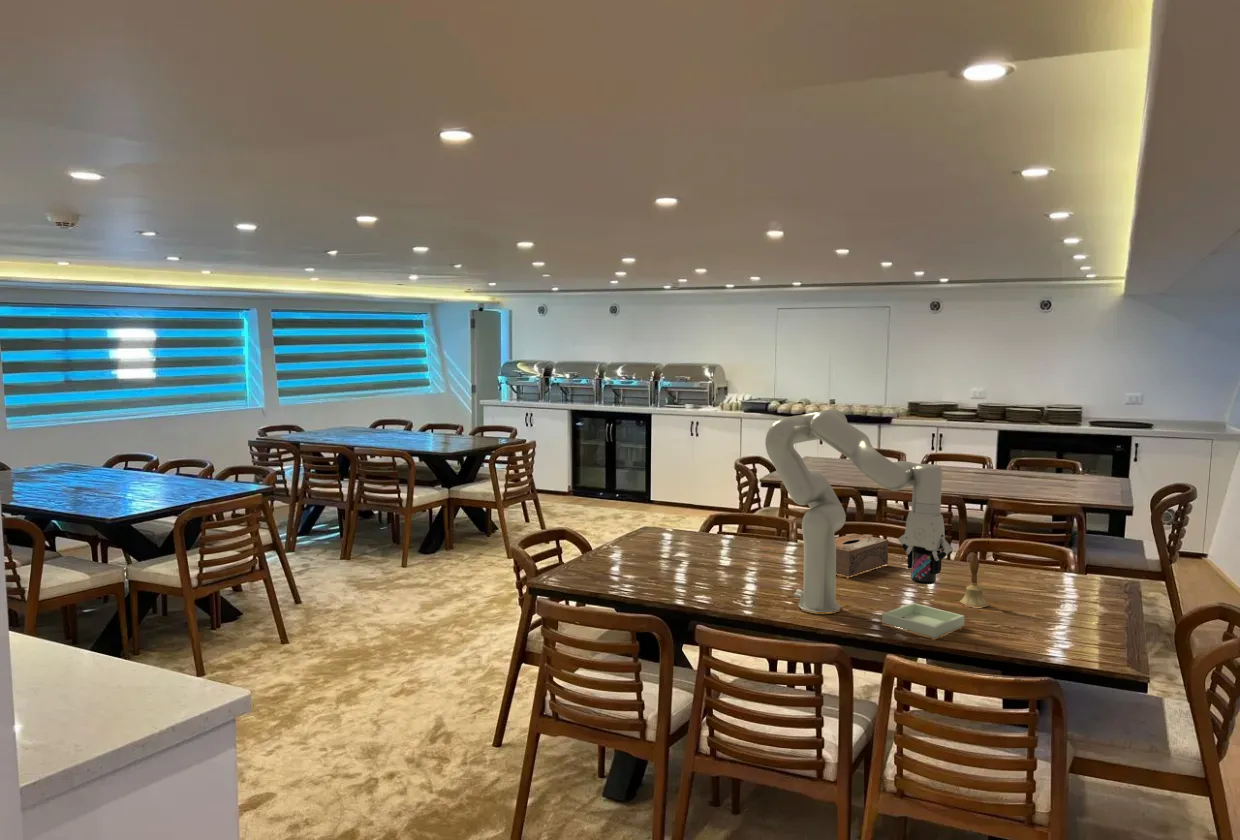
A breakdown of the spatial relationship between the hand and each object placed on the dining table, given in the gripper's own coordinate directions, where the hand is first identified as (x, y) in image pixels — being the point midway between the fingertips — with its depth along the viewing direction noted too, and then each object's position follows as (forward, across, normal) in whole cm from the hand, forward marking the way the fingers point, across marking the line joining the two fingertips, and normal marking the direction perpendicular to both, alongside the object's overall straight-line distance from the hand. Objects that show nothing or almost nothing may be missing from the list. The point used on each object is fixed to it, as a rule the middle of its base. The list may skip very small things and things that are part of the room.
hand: (923, 570), depth 229 cm
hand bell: (+16, -1, +31) cm, 35 cm away
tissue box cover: (+17, -51, +39) cm, 66 cm away
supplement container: (+3, 0, 0) cm, 3 cm away
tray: (+16, 0, 0) cm, 16 cm away
